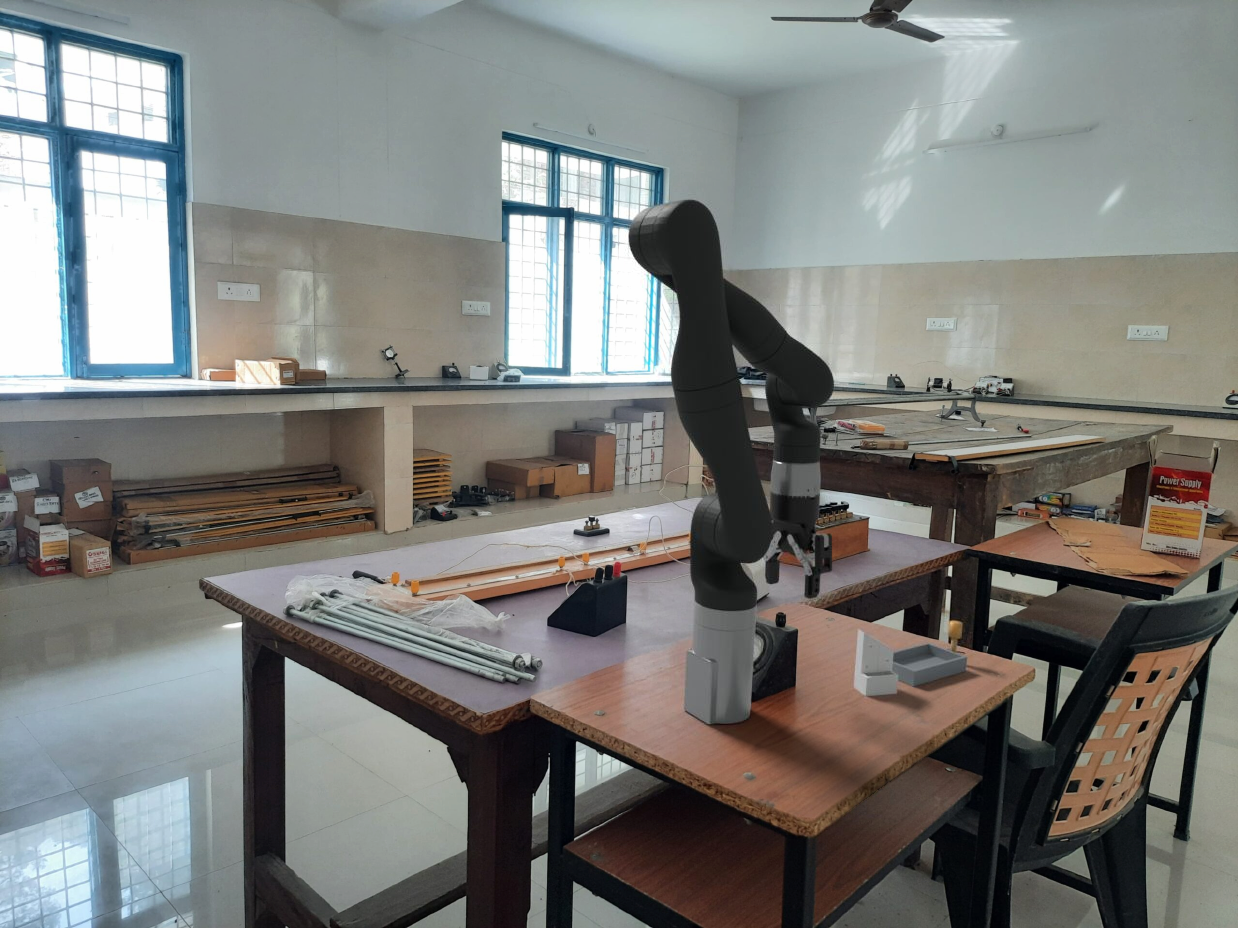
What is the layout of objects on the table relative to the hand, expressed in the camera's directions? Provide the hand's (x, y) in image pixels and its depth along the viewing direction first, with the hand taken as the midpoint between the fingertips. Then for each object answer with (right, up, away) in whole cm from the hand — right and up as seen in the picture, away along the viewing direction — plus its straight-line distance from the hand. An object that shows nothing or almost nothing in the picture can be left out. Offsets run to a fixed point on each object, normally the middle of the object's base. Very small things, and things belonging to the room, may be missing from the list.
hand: (791, 590), depth 136 cm
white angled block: (+15, -17, +5) cm, 23 cm away
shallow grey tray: (+27, -16, +16) cm, 35 cm away
